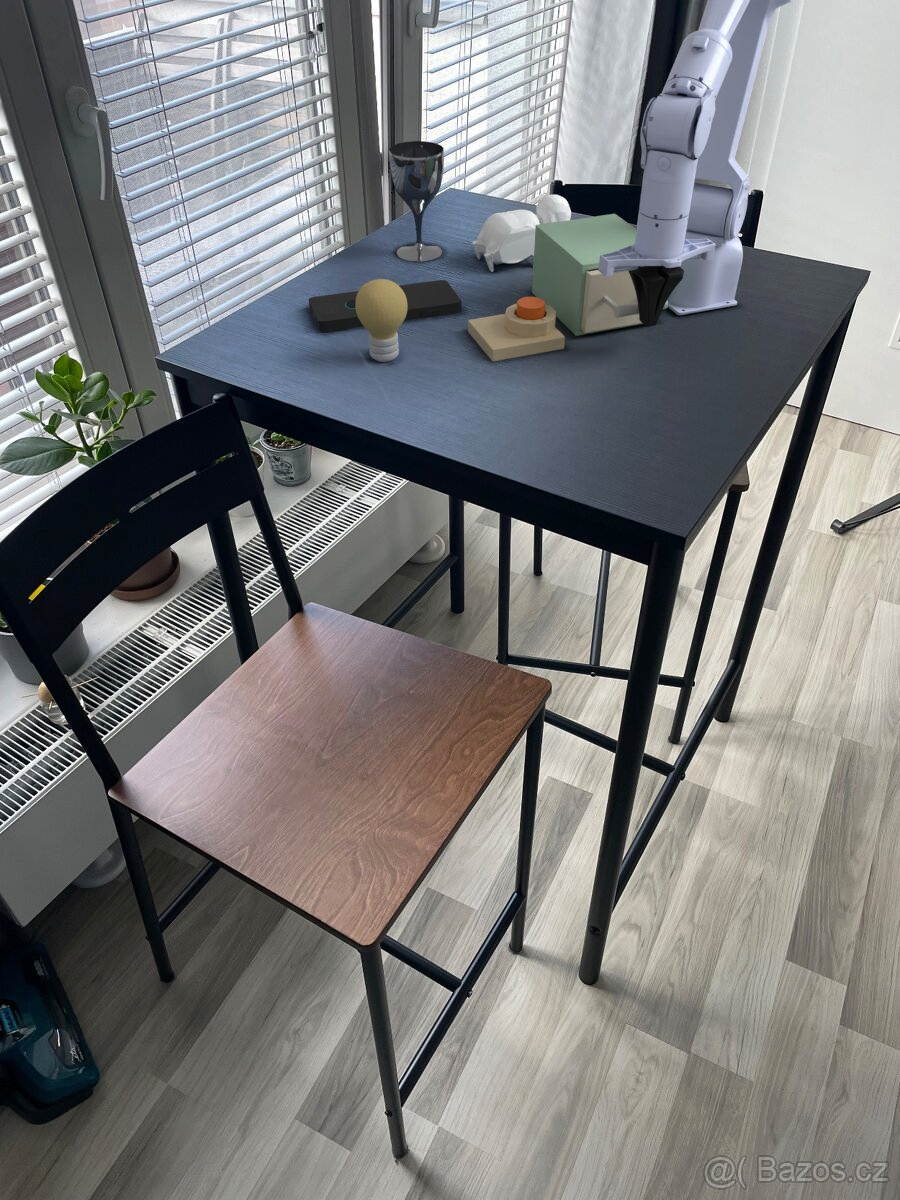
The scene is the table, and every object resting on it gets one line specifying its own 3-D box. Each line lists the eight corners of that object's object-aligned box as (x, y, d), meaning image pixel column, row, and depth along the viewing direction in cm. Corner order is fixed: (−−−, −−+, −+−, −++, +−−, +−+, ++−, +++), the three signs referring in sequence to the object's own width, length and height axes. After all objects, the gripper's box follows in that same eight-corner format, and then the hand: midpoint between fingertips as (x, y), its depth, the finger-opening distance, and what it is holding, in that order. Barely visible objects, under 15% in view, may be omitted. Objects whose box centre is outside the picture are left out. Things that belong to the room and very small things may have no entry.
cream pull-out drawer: (676, 335, 120) (686, 276, 114) (601, 349, 117) (607, 289, 112) (611, 281, 132) (618, 226, 127) (542, 292, 130) (546, 236, 124)
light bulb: (371, 374, 114) (366, 296, 108) (351, 352, 118) (345, 277, 112) (417, 362, 116) (415, 286, 110) (396, 341, 121) (392, 267, 114)
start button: (537, 307, 121) (538, 294, 120) (548, 318, 118) (549, 305, 117) (512, 311, 120) (512, 298, 119) (523, 323, 117) (523, 310, 116)
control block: (537, 319, 125) (539, 295, 123) (566, 348, 119) (568, 323, 117) (467, 331, 123) (467, 306, 120) (492, 362, 116) (493, 336, 114)
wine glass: (392, 243, 145) (388, 141, 135) (442, 241, 146) (441, 140, 136) (394, 263, 140) (389, 158, 130) (446, 261, 140) (446, 157, 130)
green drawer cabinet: (656, 322, 124) (667, 251, 118) (575, 336, 121) (582, 265, 115) (607, 280, 135) (614, 213, 128) (531, 292, 132) (535, 224, 125)
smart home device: (307, 296, 127) (445, 277, 131) (308, 308, 128) (445, 289, 133) (318, 321, 121) (462, 301, 126) (320, 333, 122) (462, 313, 127)
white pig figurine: (501, 293, 138) (588, 244, 138) (483, 244, 132) (573, 192, 132) (480, 272, 144) (563, 224, 144) (462, 224, 138) (548, 174, 138)
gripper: (624, 231, 101) (610, 345, 110) (737, 214, 105) (715, 326, 114) (595, 210, 106) (584, 321, 115) (704, 194, 110) (685, 303, 119)
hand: (647, 322), depth 115 cm, fingers closed, pressing on cream pull-out drawer
